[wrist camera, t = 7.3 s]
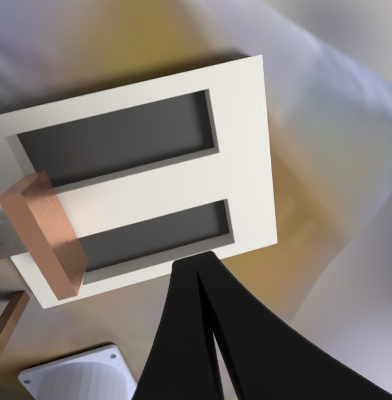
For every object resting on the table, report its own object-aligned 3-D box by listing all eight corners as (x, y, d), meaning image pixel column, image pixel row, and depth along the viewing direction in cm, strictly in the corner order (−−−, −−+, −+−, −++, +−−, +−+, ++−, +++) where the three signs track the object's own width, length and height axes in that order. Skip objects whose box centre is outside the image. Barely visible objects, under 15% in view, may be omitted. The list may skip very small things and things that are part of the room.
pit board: (268, 232, 20) (277, 243, 19) (50, 292, 19) (43, 308, 18) (251, 56, 15) (261, 54, 14) (-52, 126, 14) (-72, 131, 13)
